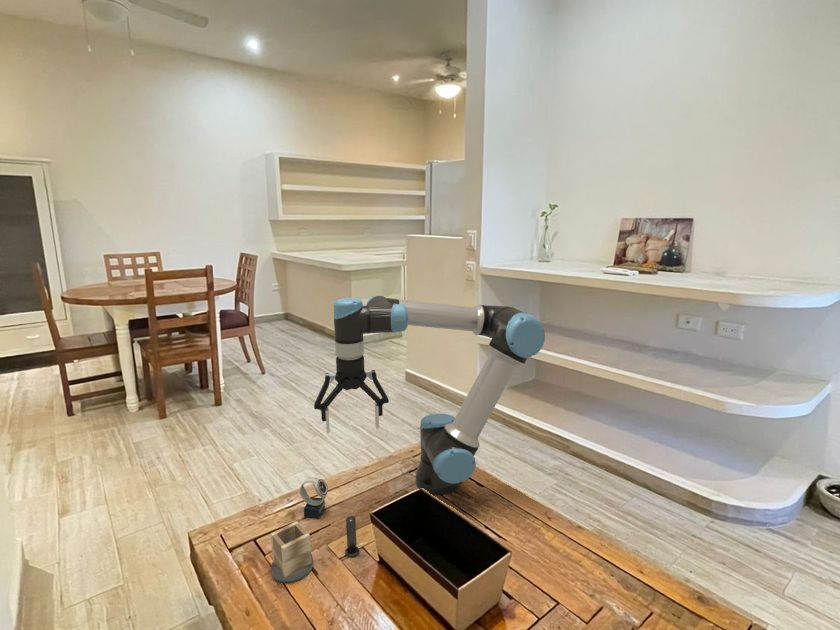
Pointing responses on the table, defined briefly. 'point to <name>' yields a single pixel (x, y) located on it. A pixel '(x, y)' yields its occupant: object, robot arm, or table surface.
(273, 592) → the table surface
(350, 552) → the stand
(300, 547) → the wooden square sleeve
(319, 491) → the watch
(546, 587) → the table surface
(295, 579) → the stand
